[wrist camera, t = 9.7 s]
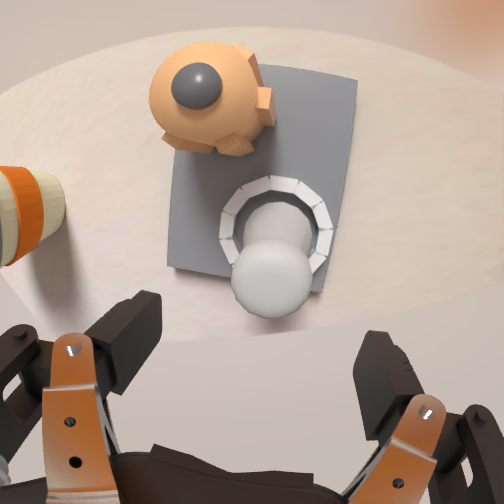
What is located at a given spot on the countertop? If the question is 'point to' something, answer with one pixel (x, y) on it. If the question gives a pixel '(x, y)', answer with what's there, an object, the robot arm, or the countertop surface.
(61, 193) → the reusable coffee cup
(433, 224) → the countertop surface
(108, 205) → the countertop surface
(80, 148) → the countertop surface
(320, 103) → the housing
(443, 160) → the countertop surface
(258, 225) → the salt shaker
